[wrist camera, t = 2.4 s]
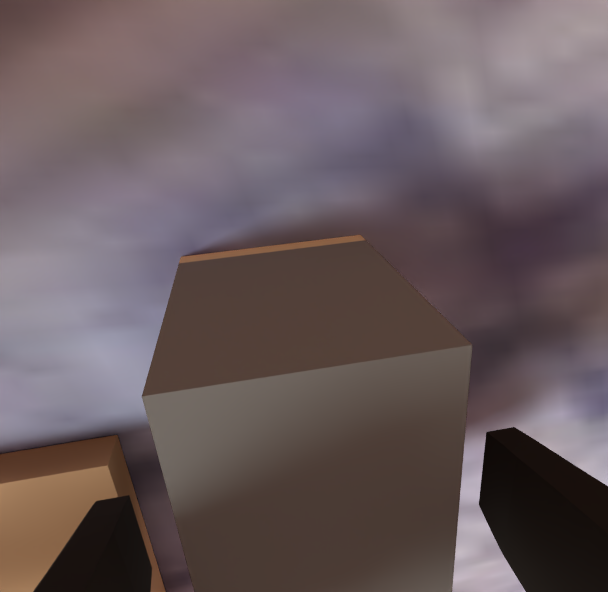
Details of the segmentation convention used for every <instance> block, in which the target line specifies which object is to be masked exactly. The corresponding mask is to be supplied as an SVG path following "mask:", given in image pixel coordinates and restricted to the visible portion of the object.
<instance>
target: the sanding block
mask: <svg viewBox="0 0 608 592" xmlns="http://www.w3.org/2000/svg"><path fill="white" fill-rule="evenodd" d="M471 355H472V344H471V343H470V342H469V341H468V340H467V339H466V338H465V337H464V336H463V335H462V334H461V333H460V332H459V331H458V330H457V329H456V328H455V327H454V326H452V325H451V324H450V323H449V322H448V321H447V320H446V319H445V318H444V317H443V316H442V315H441V314H440V313H439V312H438V311H437V310H436V309H435V308H434V307H433V306H432V305H431V304H430V303H429V302H428V301H427V300H426V299H425V298H424V297H423V296H422V295H421V294H420V293H419V292H418V291H417V290H416V289H415V288H414V287H413V286H412V285H411V284H410V283H409V282H408V281H407V280H406V279H405V278H404V277H403V276H402V275H401V274H400V273H398V272H397V271H396V270H395V269H394V268H393V267H392V266H391V265H390V264H389V263H388V262H387V261H386V260H385V259H384V258H383V257H382V256H381V255H380V254H379V253H378V252H377V251H376V250H375V249H374V248H373V247H372V246H371V245H370V244H369V243H368V242H367V241H366V240H365V239H364V238H363V237H362V236H361V235H354V236H346V237H338V238H330V239H321V240H313V241H305V242H297V243H289V244H281V245H273V246H265V247H256V248H248V249H240V250H232V251H224V252H216V253H208V254H199V255H191V256H183V257H181V258H180V262H179V265H178V269H177V272H176V276H175V280H174V283H173V287H172V290H171V294H170V298H169V301H168V305H167V308H166V312H165V315H164V319H163V323H162V326H161V330H160V333H159V337H158V341H157V344H156V348H155V351H154V355H153V358H152V362H151V366H150V369H149V373H148V376H147V380H146V384H145V387H144V391H143V394H142V399H143V403H144V406H145V410H146V414H147V417H148V421H149V425H150V429H151V432H152V436H153V440H154V443H155V447H156V451H157V455H158V458H159V462H160V466H161V469H162V473H163V477H164V481H165V484H166V488H167V492H168V495H169V499H170V503H171V507H172V510H173V514H174V518H175V521H176V525H177V529H178V533H179V536H180V540H181V544H182V547H183V551H184V555H185V559H186V562H187V566H188V570H189V573H190V577H191V581H192V585H193V588H194V592H452V584H453V572H454V560H455V548H456V536H457V524H458V512H459V500H460V488H461V476H462V463H463V451H464V439H465V427H466V415H467V403H468V391H469V379H470V367H471Z"/></svg>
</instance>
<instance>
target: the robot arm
mask: <svg viewBox="0 0 608 592" xmlns="http://www.w3.org/2000/svg"><path fill="white" fill-rule="evenodd" d="M479 506H480V508H481V510H482V512H483V514H484V516H485V518H486V521H487V523H488V525H489V527H490V529H491V531H492V533H493V535H494V537H495V539H496V541H497V543H498V545H499V547H500V549H501V551H502V553H503V555H504V557H505V558H506V560H507V562H508V563H509V565H510V567H511V568H512V570H513V571H514V573H515V575H516V576H517V578H518V580H519V581H520V583H521V584H522V586H523V588H524V589H525V591H526V592H608V486H606V485H605V484H603V483H602V482H600V481H598V480H597V479H595V478H594V477H592V476H590V475H589V474H587V473H586V472H584V471H583V470H581V469H579V468H578V467H576V466H575V465H573V464H572V463H570V462H569V461H567V460H565V459H564V458H562V457H561V456H559V455H558V454H556V453H555V452H553V451H551V450H550V449H548V448H547V447H545V446H544V445H542V444H540V443H539V442H537V441H536V440H534V439H533V438H531V437H529V436H528V435H526V434H525V433H523V432H521V431H520V430H518V429H516V428H515V427H513V428H507V429H501V430H496V431H490V432H487V433H486V442H485V452H484V461H483V471H482V480H481V490H480V499H479ZM151 578H152V566H151V563H150V559H149V556H148V553H147V550H146V547H145V544H144V540H143V537H142V534H141V531H140V528H139V524H138V521H137V518H136V515H135V512H134V509H133V505H132V502H131V499H130V496H129V495H127V496H122V497H116V498H110V499H105V500H99V501H96V502H95V503H94V504H93V505H92V507H91V508H90V510H89V511H88V512H87V514H86V515H85V517H84V518H83V520H82V521H81V523H80V524H79V526H78V527H77V529H76V530H75V532H74V533H73V534H72V536H71V537H70V539H69V540H68V542H67V543H66V545H65V546H64V548H63V549H62V551H61V552H60V554H59V555H58V557H57V558H56V559H55V561H54V562H53V564H52V565H51V567H50V568H49V570H48V571H47V572H46V574H45V575H44V577H43V578H42V580H41V581H40V582H39V584H38V585H37V587H36V588H35V589H34V591H33V592H151Z"/></svg>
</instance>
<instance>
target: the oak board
mask: <svg viewBox="0 0 608 592" xmlns="http://www.w3.org/2000/svg"><path fill="white" fill-rule="evenodd" d="M127 495H129V496H130V499H131V502H132V505H133V509H134V512H135V515H136V518H137V521H138V524H139V528H140V531H141V534H142V537H143V540H144V544H145V547H146V550H147V553H148V556H149V559H150V563H151V566H152V578H151V592H166V591H165V588H164V585H163V581H162V578H161V575H160V572H159V568H158V565H157V562H156V559H155V555H154V552H153V549H152V546H151V542H150V539H149V536H148V533H147V529H146V526H145V523H144V520H143V516H142V513H141V510H140V507H139V503H138V500H137V497H136V494H135V490H134V487H133V484H132V481H131V477H130V474H129V471H128V468H127V465H126V461H125V458H124V455H123V452H122V448H121V445H120V442H119V439H118V435H113V436H107V437H101V438H95V439H89V440H83V441H77V442H71V443H65V444H59V445H53V446H47V447H41V448H35V449H29V450H22V451H16V452H10V453H4V454H0V592H33V591H34V589H35V588H36V587H37V585H38V584H39V582H40V581H41V580H42V578H43V577H44V575H45V574H46V572H47V571H48V570H49V568H50V567H51V565H52V564H53V562H54V561H55V559H56V558H57V557H58V555H59V554H60V552H61V551H62V549H63V548H64V546H65V545H66V543H67V542H68V540H69V539H70V537H71V536H72V534H73V533H74V532H75V530H76V529H77V527H78V526H79V524H80V523H81V521H82V520H83V518H84V517H85V515H86V514H87V512H88V511H89V510H90V508H91V507H92V505H93V504H94V503H95V502H96V501H99V500H105V499H110V498H116V497H122V496H127Z"/></svg>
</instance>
